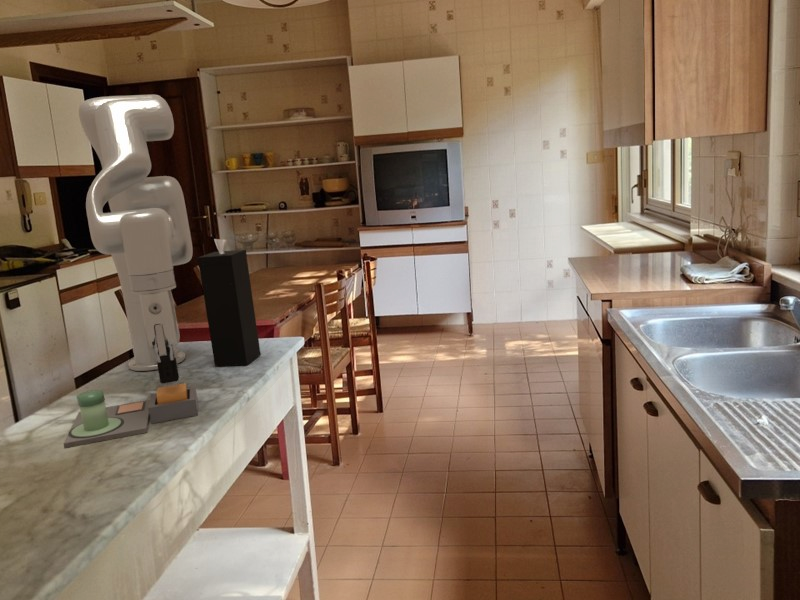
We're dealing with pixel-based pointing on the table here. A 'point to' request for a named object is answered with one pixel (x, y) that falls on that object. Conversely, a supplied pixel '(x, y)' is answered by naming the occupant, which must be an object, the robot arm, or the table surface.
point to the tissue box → (229, 306)
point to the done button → (172, 393)
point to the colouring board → (112, 424)
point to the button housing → (173, 408)
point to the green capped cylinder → (93, 410)
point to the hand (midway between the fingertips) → (170, 380)
